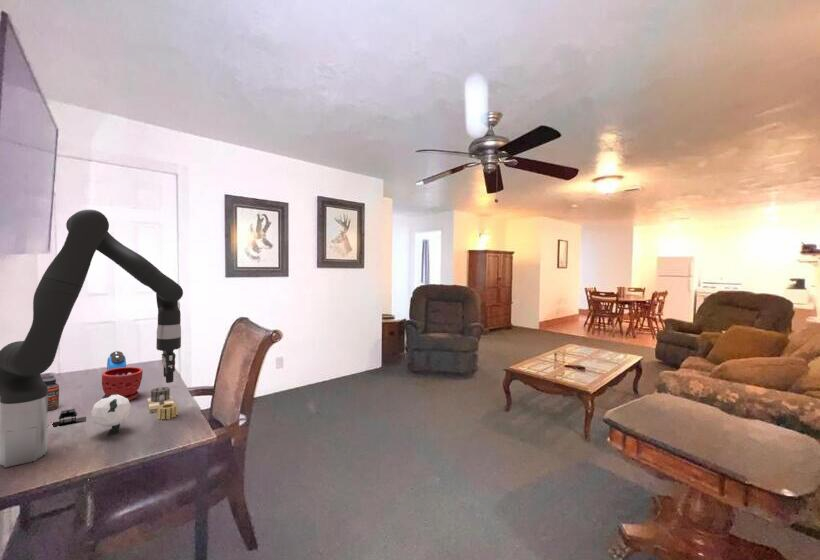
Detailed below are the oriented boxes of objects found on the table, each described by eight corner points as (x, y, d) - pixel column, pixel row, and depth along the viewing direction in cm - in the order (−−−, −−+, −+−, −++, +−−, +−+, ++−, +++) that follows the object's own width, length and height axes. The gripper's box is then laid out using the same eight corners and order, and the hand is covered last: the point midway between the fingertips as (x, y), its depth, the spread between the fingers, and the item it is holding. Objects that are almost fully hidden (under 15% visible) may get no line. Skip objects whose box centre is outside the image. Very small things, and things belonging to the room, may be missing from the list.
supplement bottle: (44, 412, 131) (44, 382, 131) (31, 411, 132) (32, 381, 132) (62, 407, 137) (63, 377, 137) (51, 405, 138) (51, 376, 138)
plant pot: (99, 407, 138) (100, 377, 138) (103, 397, 149) (103, 368, 148) (141, 401, 146) (142, 372, 145) (142, 391, 156) (142, 364, 156)
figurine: (92, 426, 122) (93, 388, 122) (131, 419, 128) (131, 383, 128) (87, 448, 108) (87, 404, 108) (130, 439, 114) (131, 398, 114)
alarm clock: (106, 382, 166) (107, 350, 166) (123, 380, 170) (124, 349, 170) (108, 390, 157) (109, 356, 156) (126, 387, 161) (127, 354, 161)
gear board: (174, 408, 139) (175, 393, 139) (149, 413, 134) (149, 397, 134) (170, 398, 150) (171, 384, 150) (147, 401, 145) (147, 387, 145)
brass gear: (178, 417, 132) (178, 406, 132) (157, 421, 128) (158, 410, 128) (176, 412, 136) (176, 401, 136) (156, 415, 133) (156, 405, 132)
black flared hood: (41, 432, 118) (41, 418, 118) (43, 424, 123) (44, 411, 123) (91, 422, 126) (91, 410, 126) (91, 416, 131) (92, 403, 131)
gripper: (183, 338, 128) (182, 382, 129) (178, 332, 139) (177, 373, 140) (158, 340, 124) (157, 386, 124) (155, 333, 135) (154, 376, 135)
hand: (168, 379), depth 132 cm, fingers open, 8 cm apart
